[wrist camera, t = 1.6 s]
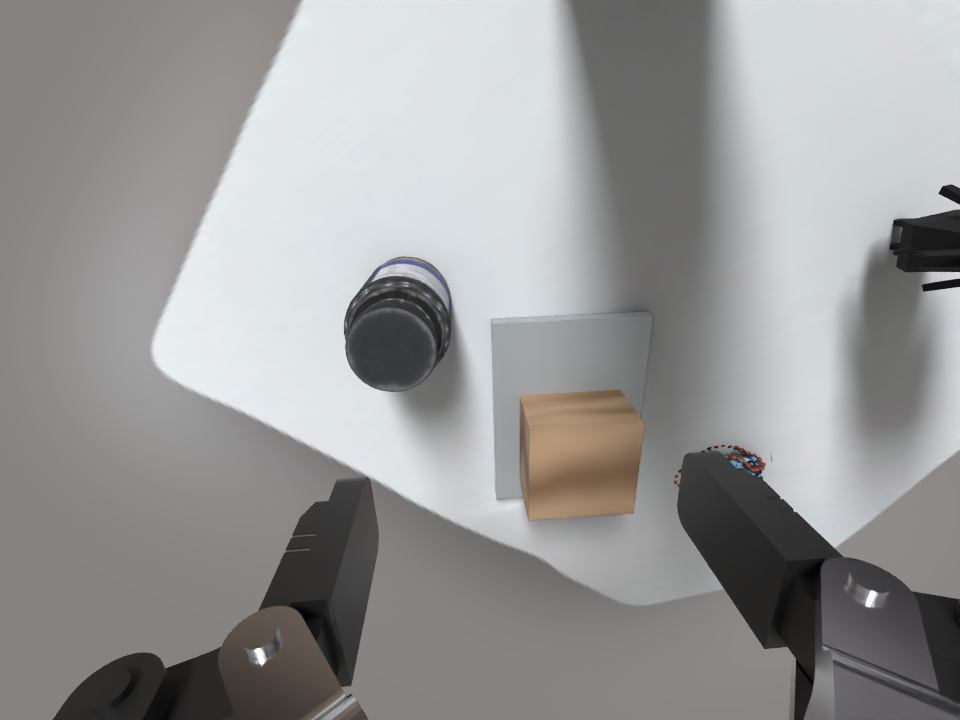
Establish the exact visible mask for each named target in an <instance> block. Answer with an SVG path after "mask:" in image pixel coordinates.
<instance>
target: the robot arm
mask: <svg viewBox="0 0 960 720" xmlns="http://www.w3.org/2000/svg"><path fill="white" fill-rule="evenodd" d="M677 508H678V515H679V518H680V521H681V524H682V526H683V528H684V529H685V531H686V532H687V534H688V535H689V537H690V538H691V540H692V541H693V543H694V544H695V546H696V547H697V549H698V550H699V552H700V553H701V555H702V556H703V558H704V559H705V561H706V562H707V564H708V565H709V567H710V568H711V570H712V571H713V573H714V574H715V576H716V577H717V579H718V580H719V582H720V583H721V585H722V586H723V588H724V589H725V591H726V592H727V594H728V595H729V597H730V598H731V600H732V601H733V603H734V604H735V606H736V607H737V608H738V610H739V612H740V613H741V614H742V616H743V617H744V619H745V621H746V622H747V623H748V625H749V627H750V628H751V630H752V631H753V632H754V634H755V635H756V637H757V638H758V640H759V641H760V643H761V644H762V646H763V647H764V649H769V648H780V647H788V648H789V650H790V651H791V652H792V654H793V655H794V659H793V662H792V667H791V685H790V709H789V720H960V599H954V598H948V597H942V596H936V595H930V594H924V593H918V592H912V591H911V590H910V589H909V588H908V587H907V586H906V585H905V584H903V582H902V581H900V580H899V579H898V578H896V577H895V576H893V575H892V574H890V573H889V572H887V571H885V570H883V569H882V568H879V567H877V566H875V565H873V564H870V563H867V562H865V561H862V560H858V559H853V558H845V557H843V556H842V555H841V554H840V553H839V552H838V551H837V550H836V549H834V548H833V547H832V546H831V545H830V544H829V543H828V542H827V541H826V540H825V539H824V538H823V537H822V536H821V535H820V534H819V533H818V532H817V531H816V530H815V529H814V528H813V527H812V526H810V525H809V524H808V523H807V522H806V521H805V520H804V519H803V518H802V517H801V516H800V515H799V514H798V513H797V512H794V511H793V508H792V507H791V506H790V505H789V504H788V503H787V502H785V501H784V500H783V499H782V500H781V499H780V496H779V495H778V494H777V493H776V492H775V491H774V490H773V489H772V488H771V487H770V486H769V485H768V484H767V483H766V482H765V481H763V480H761V479H759V478H758V477H756V476H754V475H752V474H750V473H749V472H747V471H745V470H743V469H742V470H738V469H737V468H736V467H735V466H734V465H733V464H732V463H731V462H730V461H729V460H728V459H727V458H726V457H725V456H724V455H723V454H722V453H721V452H718V451H712V452H699V453H688V454H686V455H685V457H684V459H683V465H682V472H681V480H680V487H679V494H678V502H677ZM378 541H379V533H378V524H377V517H376V512H375V506H374V500H373V494H372V488H371V482H370V479H369V478H368V477H364V478H351V479H338V480H337V481H336V483H335V486H334V489H333V491H332V493H331V496H330V499H329V501H323V502H315V503H314V504H313V505H312V506H311V507H310V508H309V509H308V510H307V511H306V513H304V514H303V515H302V516H301V517H300V519H299V521H298V524H297V526H296V528H295V530H294V533H293V537H292V538H291V539H290V542H289V544H288V546H287V548H286V553H284V555H283V557H282V559H281V562H280V564H279V567H278V568H277V571H276V573H275V575H274V577H273V579H272V582H271V584H270V586H269V588H268V591H267V593H266V595H265V597H264V600H263V602H262V604H261V606H260V609H259V610H258V611H257V612H255V613H253V614H251V615H250V616H248V617H247V618H245V619H244V620H242V621H241V622H240V623H239V624H237V626H235V627H234V628H233V629H232V631H231V632H230V633H229V634H228V635H227V637H226V638H225V640H224V642H223V643H222V646H221V647H219V648H218V649H216V650H214V651H211V652H209V653H206V654H203V655H201V656H198V657H196V658H193V659H190V660H187V661H185V662H182V663H179V664H177V665H174V666H171V667H168V668H166V669H165V667H164V665H163V663H162V661H161V659H160V658H159V657H158V656H156V655H154V654H151V653H135V654H131V655H127V656H124V657H122V658H119V659H117V660H114V661H112V662H111V663H109V664H107V665H105V666H103V667H102V668H101V669H99V670H98V671H96V672H94V673H93V674H92V675H91V676H90V677H88V678H87V679H86V680H85V681H83V682H82V683H81V684H80V685H79V686H78V687H77V688H76V689H75V690H74V692H72V694H71V695H70V696H69V697H68V699H67V700H66V701H65V703H64V704H63V706H62V707H61V709H60V710H59V711H58V713H57V714H56V716H55V717H54V719H53V720H369V719H368V718H367V716H366V714H365V712H364V711H363V709H362V707H361V706H360V704H359V702H358V701H357V699H356V698H355V697H354V696H353V695H352V694H350V695H349V696H347V695H346V694H345V692H344V690H343V689H342V687H344V686H351V684H352V679H353V674H354V668H355V664H356V659H357V654H358V649H359V644H360V639H361V634H362V628H363V624H364V618H365V614H366V609H367V603H368V598H369V593H370V588H371V583H372V578H373V572H374V568H375V563H376V558H377V552H378Z"/></svg>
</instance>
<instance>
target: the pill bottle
mask: <svg viewBox="0 0 960 720" xmlns="http://www.w3.org/2000/svg"><path fill="white" fill-rule="evenodd" d="M344 334H345V340H346V345H345V348H346V356H347V360H348V362H349V365H350V367H351V369H352V370H353V372H354V373H355V374H356V375H357V377H358V378H360V379H361V380H362V381H363V382H364V383H366V384H367V385H369V386H371V387H373V388H375V389H378V390H383V391H388V392H398V391H405V390H408V389H411V388H413V387H415V386H417V385H419V384H420V383H421V382H423V381H424V380H425V379H426V378H427V377H428V376H429V374H430V373H431V371H432V370H433V368H434V367H435V366H436V365H437V364H438V363H439V362H440V361H441V359H442V358H443V356H444V354H445V352H446V351H447V348H448V346H449V342H450V335H451V321H450V291H449V288H448V285H447V283H446V281H445V279H444V277H443V276H442V275H441V273H440V272H439V271H438V270H437V269H436V268H435V267H434V266H433V265H431V264H430V263H428V262H426V261H424V260H422V259H418V258H412V257H398V258H395V259H392V260H389V261H387V262H386V263H384V264H383V265H381V266H379V267H378V268H377V269H376V270H375V271H374V272H373V274H372V275H371V276H370V278H369V279H368V280H367V282H366V283H365V284H364V286H363V287H362V288H361V289H360V291H359V292H358V293H357V295H356V296H355V297H354V298H353V299H352V301H351V303H350V305H349V307H348V309H347V312H346V316H345V320H344Z"/></svg>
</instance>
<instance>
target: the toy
mask: <svg viewBox="0 0 960 720" xmlns="http://www.w3.org/2000/svg"><path fill="white" fill-rule="evenodd" d="M939 194H940V195H942V196H944V197H946V198H948V199H950V200H952V201H954V202H956V203H958V204H960V188H958V187H956V186H954V185H952V184H951V185H947V186H943V187H942V188H941V190H940V192H939ZM894 225H895V226H898V227H902V234H901V240H900V243H894V244H891V245H890V249H892V250H894V252H893V254H894V255H898V259H897V266H896V267H898V268H899V269H901V270H903V271H905V272H960V210H953V211H948V212H944V213H939V214H935V215H930V216H926V217H921V218H916V219H897V220H894ZM954 287H960V279H954V280H947V281H940V282H934V283H928V284H923V285H922V288H923V292H924V291H932V290H939V289H947V288H954Z"/></svg>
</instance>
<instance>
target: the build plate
mask: <svg viewBox="0 0 960 720" xmlns="http://www.w3.org/2000/svg"><path fill="white" fill-rule="evenodd" d="M652 324H653V315H652V314H650V313H649V312H647V311H642V312H622V313H601V314H581V315H561V316H541V317H521V318H500V319H491V333H492V374H493V414H494V455H495V491H496V498H497V499H508V498H523V492H522V488H521V483H520V395H536V394H553V393H571V392H589V391H606V390H621V392H622V393H623V394H624V396H625V397H626V398H627V400H628V401H629V402H630V403H631V405H632V406H633V407H634V409H635V410H636V411H637V413H638V414H639V415H640V416H642V407H643V399H644V391H645V382H646V374H647V366H648V358H649V349H650V341H651V333H652Z"/></svg>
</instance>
